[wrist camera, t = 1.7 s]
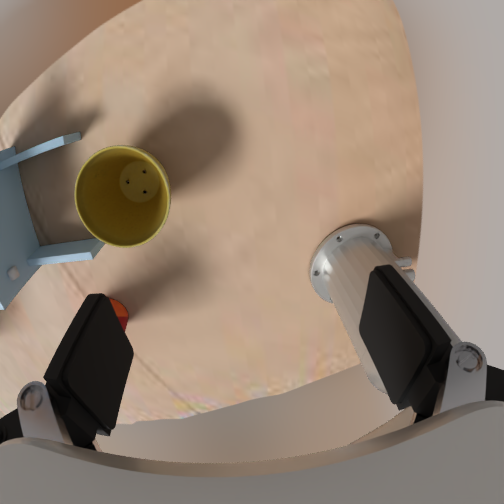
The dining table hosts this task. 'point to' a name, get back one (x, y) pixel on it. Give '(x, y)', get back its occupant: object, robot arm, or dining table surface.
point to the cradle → (29, 227)
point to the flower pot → (123, 196)
